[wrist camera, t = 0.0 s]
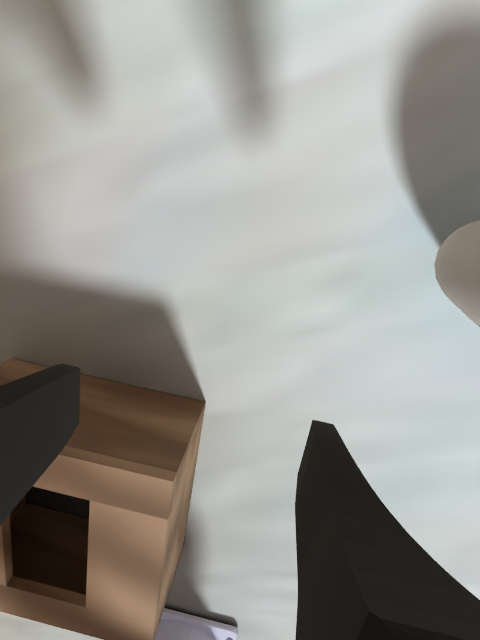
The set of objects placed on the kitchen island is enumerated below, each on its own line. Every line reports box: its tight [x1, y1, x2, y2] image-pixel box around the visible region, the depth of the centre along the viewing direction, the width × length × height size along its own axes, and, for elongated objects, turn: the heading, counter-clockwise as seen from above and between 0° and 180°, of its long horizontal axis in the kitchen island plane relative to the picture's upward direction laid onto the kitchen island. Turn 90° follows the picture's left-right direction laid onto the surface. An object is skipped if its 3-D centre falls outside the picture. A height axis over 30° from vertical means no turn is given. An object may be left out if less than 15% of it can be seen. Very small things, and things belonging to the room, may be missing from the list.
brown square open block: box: [0, 359, 206, 640], centre depth 24 cm, size 12×12×6 cm
